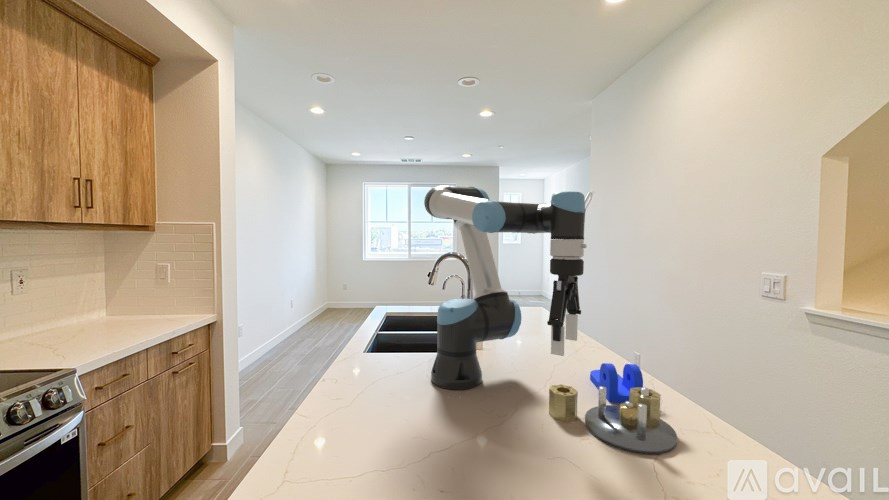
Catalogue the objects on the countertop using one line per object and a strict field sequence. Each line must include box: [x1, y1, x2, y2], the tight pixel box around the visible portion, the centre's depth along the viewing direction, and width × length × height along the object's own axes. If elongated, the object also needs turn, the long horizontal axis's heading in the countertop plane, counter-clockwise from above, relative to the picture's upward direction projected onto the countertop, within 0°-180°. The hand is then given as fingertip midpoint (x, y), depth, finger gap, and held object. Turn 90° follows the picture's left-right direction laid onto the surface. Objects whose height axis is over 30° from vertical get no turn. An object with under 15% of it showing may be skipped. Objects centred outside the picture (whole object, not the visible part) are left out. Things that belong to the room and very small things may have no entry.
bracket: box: [589, 362, 644, 404], centre depth 101 cm, size 18×8×9 cm, turn 176°
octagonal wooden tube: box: [548, 384, 579, 422], centre depth 85 cm, size 6×6×6 cm
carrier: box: [584, 386, 678, 456], centre depth 79 cm, size 18×18×8 cm
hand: (564, 346), depth 85 cm, fingers open, 13 cm apart
